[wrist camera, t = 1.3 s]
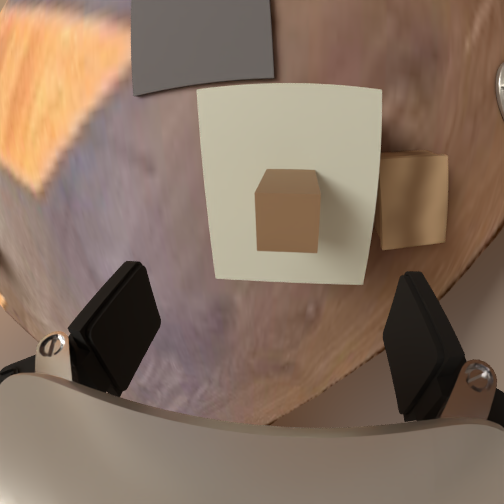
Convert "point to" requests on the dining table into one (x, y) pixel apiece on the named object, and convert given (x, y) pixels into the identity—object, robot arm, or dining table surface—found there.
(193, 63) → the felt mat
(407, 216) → the box
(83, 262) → the dining table surface
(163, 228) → the dining table surface
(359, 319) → the dining table surface
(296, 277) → the cover
